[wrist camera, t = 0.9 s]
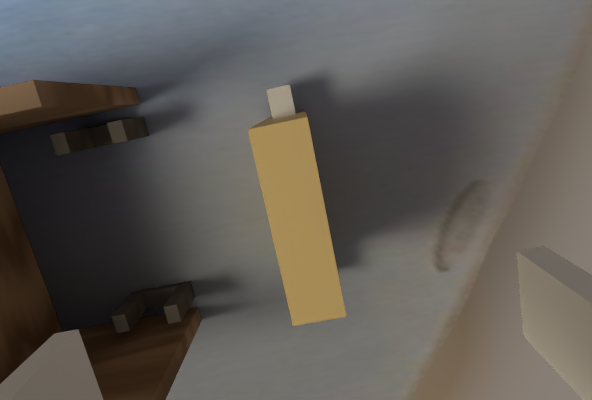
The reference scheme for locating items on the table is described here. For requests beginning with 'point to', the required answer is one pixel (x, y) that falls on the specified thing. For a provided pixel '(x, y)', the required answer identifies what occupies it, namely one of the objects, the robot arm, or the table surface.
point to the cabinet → (29, 282)
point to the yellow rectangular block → (296, 211)
